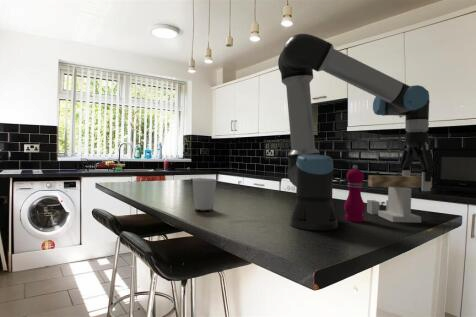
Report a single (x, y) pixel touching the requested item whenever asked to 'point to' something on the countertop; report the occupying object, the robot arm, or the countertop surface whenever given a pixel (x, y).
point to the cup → (204, 194)
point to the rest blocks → (374, 206)
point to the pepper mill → (354, 196)
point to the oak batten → (395, 181)
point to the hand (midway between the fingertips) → (415, 188)
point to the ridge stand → (399, 206)
